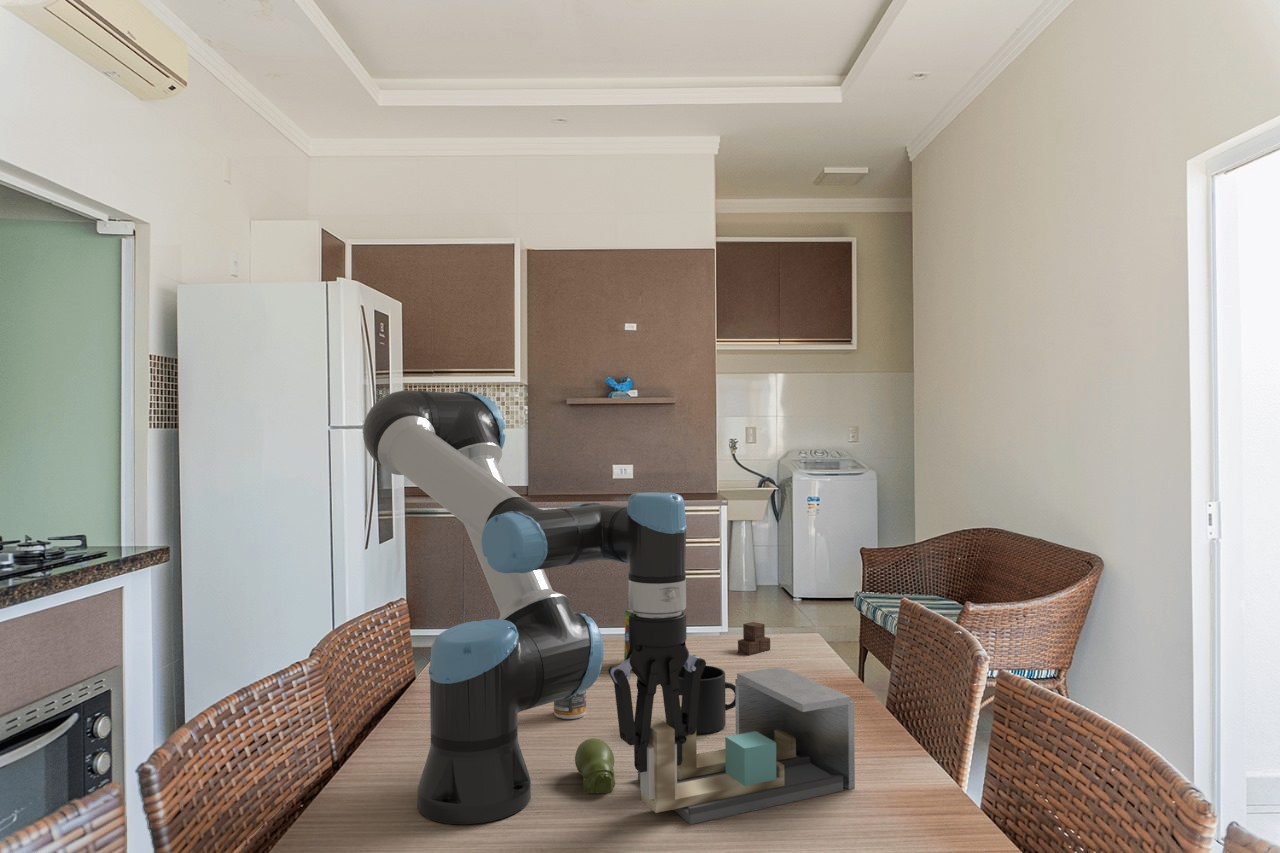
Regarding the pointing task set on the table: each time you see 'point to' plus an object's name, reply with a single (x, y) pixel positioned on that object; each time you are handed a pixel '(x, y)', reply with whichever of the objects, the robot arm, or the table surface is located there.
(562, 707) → the pill bottle
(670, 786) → the wooden l-shaped bracket
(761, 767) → the block
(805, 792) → the lane board
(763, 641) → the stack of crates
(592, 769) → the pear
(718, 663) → the table surface
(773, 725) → the grey open box shape
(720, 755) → the strip far
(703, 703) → the mug
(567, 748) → the table surface
